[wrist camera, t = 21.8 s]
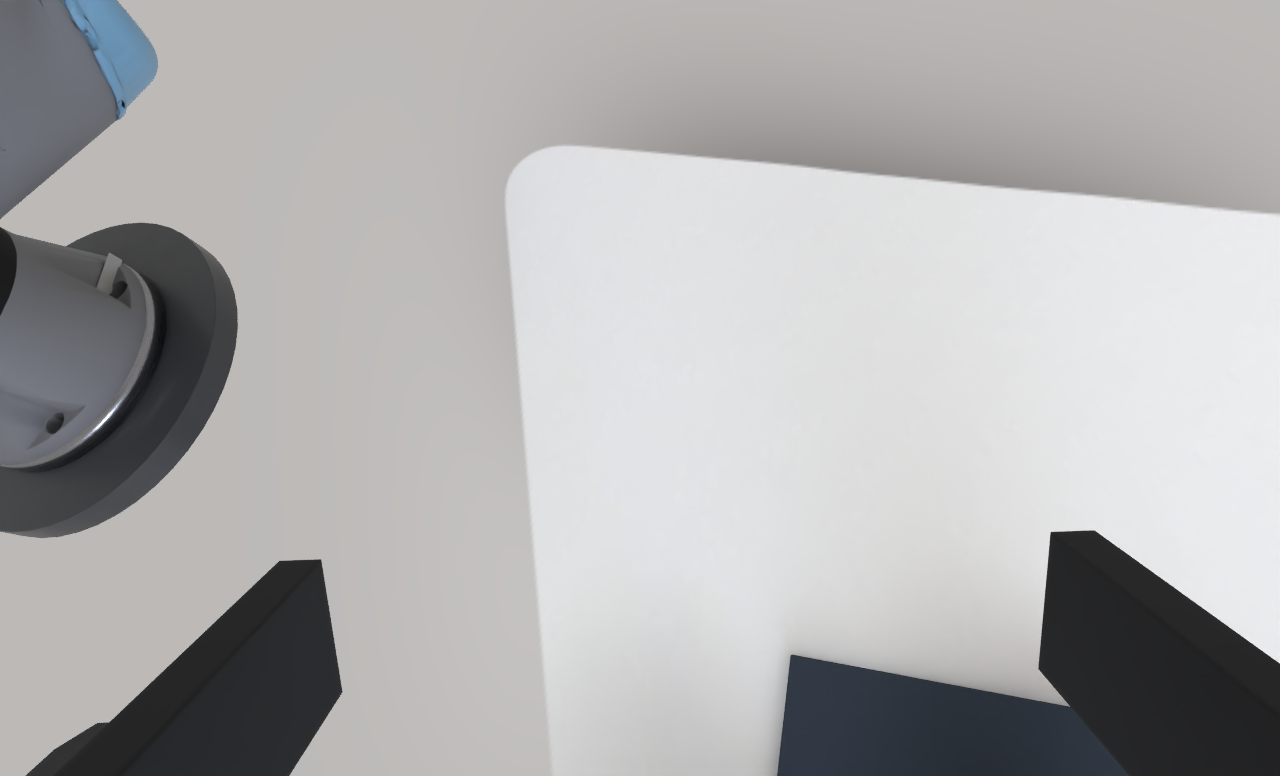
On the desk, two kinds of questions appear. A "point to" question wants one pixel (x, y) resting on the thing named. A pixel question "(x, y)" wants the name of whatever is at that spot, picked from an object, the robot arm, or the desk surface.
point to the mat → (926, 729)
